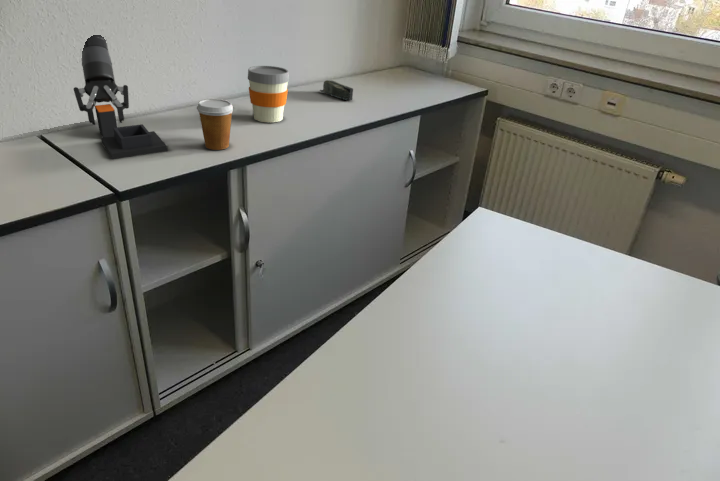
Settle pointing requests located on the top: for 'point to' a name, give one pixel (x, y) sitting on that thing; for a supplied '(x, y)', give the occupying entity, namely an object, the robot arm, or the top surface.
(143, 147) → the base pad
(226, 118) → the disposable coffee cup
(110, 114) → the pad block
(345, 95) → the dark grey block piece
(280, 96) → the reusable coffee cup
